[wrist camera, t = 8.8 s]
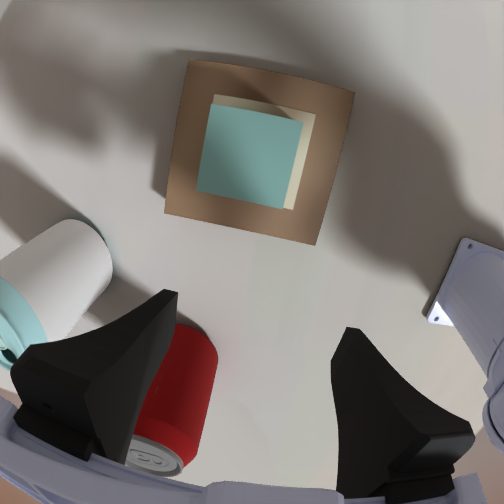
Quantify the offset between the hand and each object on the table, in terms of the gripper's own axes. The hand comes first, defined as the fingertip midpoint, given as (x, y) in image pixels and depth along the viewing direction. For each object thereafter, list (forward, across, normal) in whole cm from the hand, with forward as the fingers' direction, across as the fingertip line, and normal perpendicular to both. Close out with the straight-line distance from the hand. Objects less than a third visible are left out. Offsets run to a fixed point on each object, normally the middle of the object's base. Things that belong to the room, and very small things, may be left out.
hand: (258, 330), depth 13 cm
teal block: (+8, +2, -6) cm, 11 cm away
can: (+11, +15, +5) cm, 19 cm away
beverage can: (+11, +5, +12) cm, 17 cm away
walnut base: (+10, +2, -6) cm, 12 cm away
